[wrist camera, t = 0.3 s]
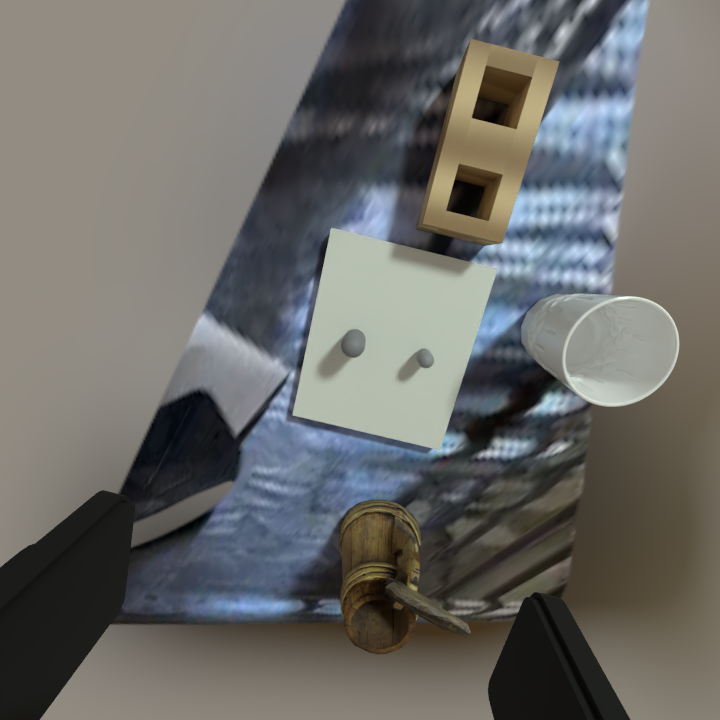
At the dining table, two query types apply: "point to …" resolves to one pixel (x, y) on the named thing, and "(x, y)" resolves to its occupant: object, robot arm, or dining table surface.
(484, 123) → the tan hollow block
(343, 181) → the dining table surface
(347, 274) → the post board
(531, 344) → the white cup
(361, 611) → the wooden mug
